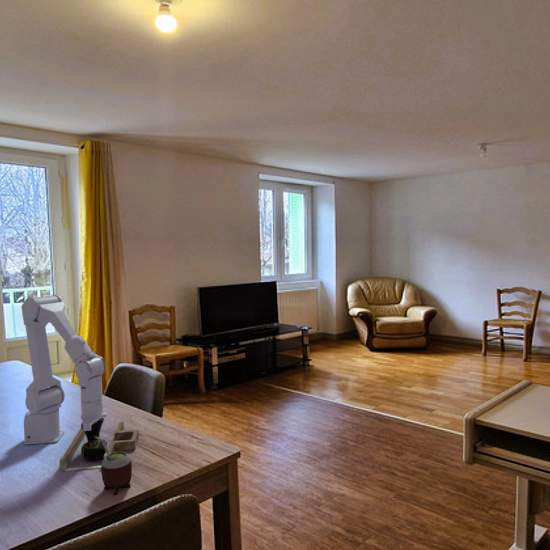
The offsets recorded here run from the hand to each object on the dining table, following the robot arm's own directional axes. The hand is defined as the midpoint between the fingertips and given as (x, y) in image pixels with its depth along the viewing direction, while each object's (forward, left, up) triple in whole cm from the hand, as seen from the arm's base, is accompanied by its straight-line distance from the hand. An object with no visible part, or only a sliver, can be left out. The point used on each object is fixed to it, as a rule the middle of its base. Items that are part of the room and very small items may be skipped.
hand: (93, 445), depth 135 cm
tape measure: (+2, -4, -2) cm, 5 cm away
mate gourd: (+10, -24, -2) cm, 26 cm away
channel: (+3, +1, -1) cm, 3 cm away
